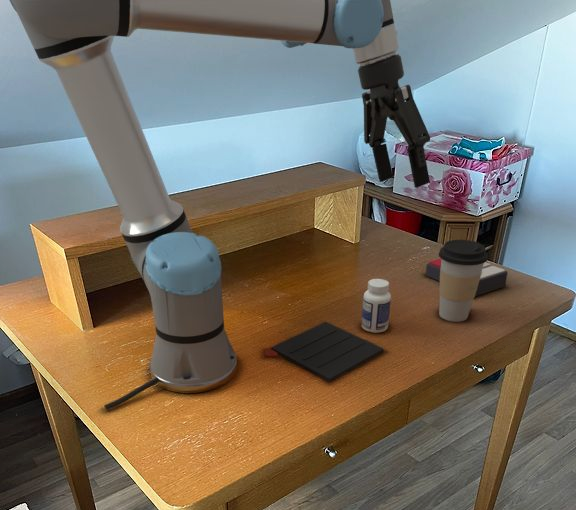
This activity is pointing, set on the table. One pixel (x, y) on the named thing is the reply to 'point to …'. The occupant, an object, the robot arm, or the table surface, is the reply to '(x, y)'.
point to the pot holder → (326, 351)
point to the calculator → (488, 280)
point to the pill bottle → (376, 306)
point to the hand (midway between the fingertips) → (403, 182)
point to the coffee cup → (459, 277)
